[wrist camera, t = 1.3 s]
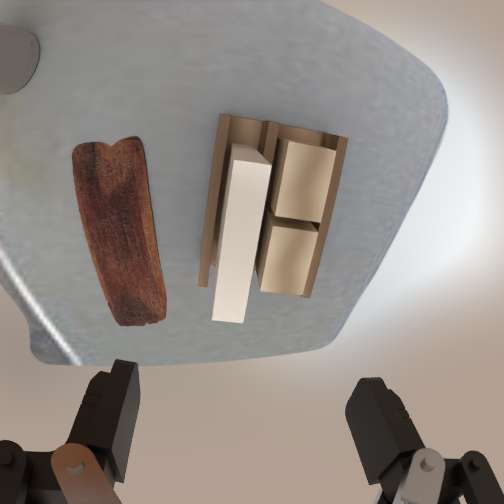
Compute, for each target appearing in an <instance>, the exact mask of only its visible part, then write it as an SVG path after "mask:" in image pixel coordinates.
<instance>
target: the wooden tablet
mask: <svg viewBox="0 0 504 504" xmlns="http://www.w3.org/2000/svg"><path fill="white" fill-rule="evenodd" d="M72 162H73V175H74V183H75V189H76V195H77V200H78V206H79V211H80V214H81V220H82V223H83V228H84V232H85V236H86V239H87V243H88V246H89V249H90V253H91V256H92V260H93V263H94V266H95V269H96V272H97V275H98V277H99V280H100V283H101V287H102V289H103V292H104V295H105V298H106V300H107V301H108V305H109V307H110V310H111V312H112V314H113V317H114V318H115V320H116V322H117V323H118V324H119V325H120V326H144V325H145V324H146V323H148V324H152V323H157V322H159V321H161V320H163V319H165V317H166V307H167V297H166V290H165V286H164V281H163V276H162V271H161V266H160V261H159V257H158V251H157V244H156V238H155V232H154V225H153V218H152V210H151V204H150V196H149V190H148V181H147V172H146V163H145V156H144V151H143V147H142V143H141V141H140V139H139V138H138V137H136V136H132V137H128V138H125V139H122V140H119V141H117V142H116V143H115V144H114V145H113V146H109V145H107V144H105V143H101V142H91V143H84V144H80V145H78V146H77V147H75V149H74V150H73V153H72Z"/></svg>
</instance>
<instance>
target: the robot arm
mask: <svg viewBox="0 0 504 504" xmlns="http://www.w3.org/2000/svg"><path fill="white" fill-rule="evenodd" d="M39 52H40V51H39V43H38V40H37V38H36V37H35V36H34V35H33V34H32V33H30V32H27V31H24V30H21V29H18V28H15V27H12V26H8V25H5V24H2V23H0V94H12V93H14V92H17V91H18V90H20V89H21V88H22V87H23V86H24V85H25V84H26V83H27V82H28V81H29V79H30V78H31V76H32V75H33V73H34V71H35V69H36V66H37V63H38V59H39ZM139 405H140V384H139V372H138V364H137V363H136V362H130V361H124V360H119V359H116V360H115V362H114V364H113V367H112V370H111V372H110V373H108V372H103V371H100V372H99V373H98V374H96V375H95V376H94V377H93V378H92V379H91V380H90V382H89V385H88V388H87V390H86V394H85V395H84V397H83V400H82V404H81V405H80V408H79V411H78V413H77V416H76V418H75V421H74V424H73V427H72V429H71V432H70V435H69V438H68V440H67V441H66V443H65V444H64V445H62V446H60V447H58V448H57V449H56V450H54V451H51V452H31V451H23V449H22V448H21V447H20V446H19V445H18V444H17V443H15V442H12V441H9V440H2V441H0V504H122V503H121V501H120V499H119V498H118V496H117V495H116V493H115V491H114V490H113V489H114V483H115V481H116V482H121V483H124V478H125V473H126V467H127V462H128V457H129V452H130V447H131V442H132V437H133V433H134V427H135V423H136V419H137V414H138V410H139ZM345 416H346V420H347V422H348V425H349V428H350V431H351V434H352V437H353V439H354V442H355V445H356V448H357V451H358V454H359V457H360V460H361V462H362V466H363V468H364V471H365V474H366V477H367V480H368V483H369V485H373V484H378V483H380V484H381V487H382V488H381V489H380V490H379V491H378V493H377V496H376V499H375V501H374V503H373V504H460V501H459V499H458V498H459V497H461V496H462V495H464V497H465V500H466V503H467V504H504V494H503V492H502V490H501V488H500V486H499V483H498V481H497V479H496V477H495V475H494V473H493V471H492V469H491V467H490V465H489V463H488V461H487V459H486V458H485V456H484V455H483V454H481V453H480V452H477V451H468V452H467V453H465V454H464V456H462V457H461V458H460V459H444V458H443V457H442V456H441V455H440V454H439V453H438V452H437V451H435V450H433V449H430V448H426V447H425V446H424V444H423V442H422V440H421V438H420V436H419V434H418V432H417V430H416V428H415V426H414V424H413V422H412V420H411V418H409V414H408V412H407V411H406V410H405V407H404V405H403V403H402V401H401V399H400V397H398V396H397V395H396V394H395V393H394V392H393V391H392V390H391V389H387V387H386V385H385V383H384V381H383V379H382V378H380V377H372V378H361V379H360V380H359V381H358V383H357V386H356V387H355V389H354V391H353V393H352V395H351V397H350V399H349V400H348V402H347V405H346V410H345Z"/></svg>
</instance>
